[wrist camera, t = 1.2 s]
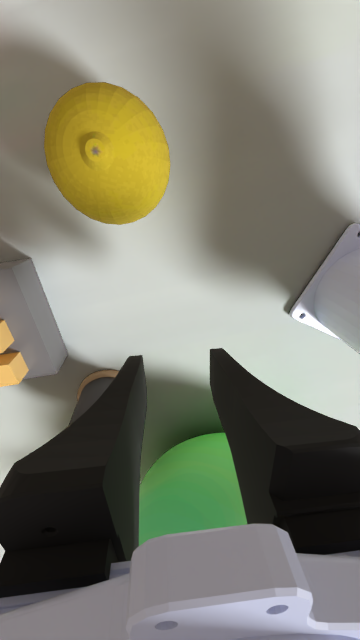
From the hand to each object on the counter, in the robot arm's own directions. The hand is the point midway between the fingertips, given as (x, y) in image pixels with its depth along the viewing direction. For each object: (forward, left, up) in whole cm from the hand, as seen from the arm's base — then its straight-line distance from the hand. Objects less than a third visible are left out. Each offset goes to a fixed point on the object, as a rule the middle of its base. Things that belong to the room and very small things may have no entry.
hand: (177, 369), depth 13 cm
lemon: (+6, -7, -9) cm, 13 cm away
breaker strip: (+11, +6, -9) cm, 15 cm away
